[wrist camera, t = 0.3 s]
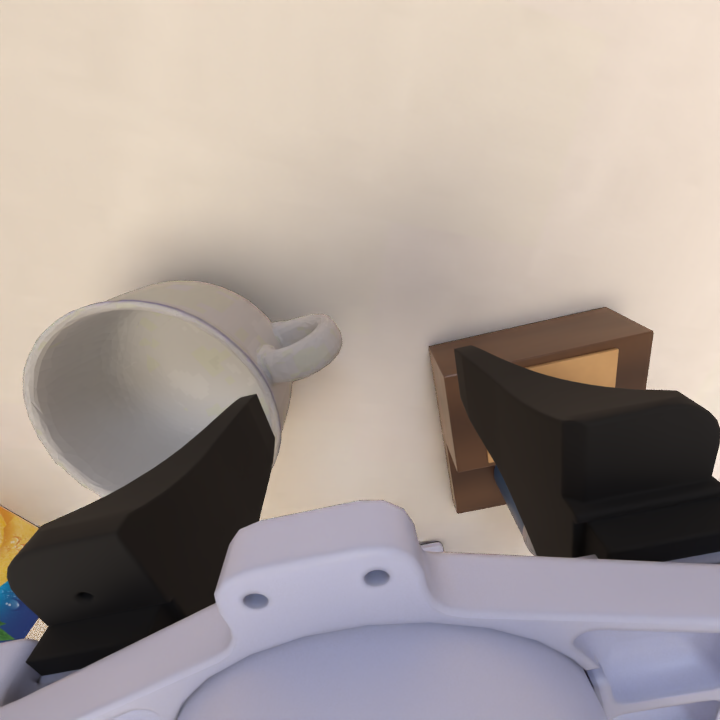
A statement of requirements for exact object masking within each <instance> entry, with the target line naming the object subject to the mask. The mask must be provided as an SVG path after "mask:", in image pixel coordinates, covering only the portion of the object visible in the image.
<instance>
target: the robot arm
mask: <svg viewBox="0 0 720 720" xmlns="http://www.w3.org/2000/svg"><path fill="white" fill-rule="evenodd" d="M454 354H455V361H456V369H457V376H458V384H459V391H460V398H461V401H462V403H463V406H464V408H465V410H466V413H467V415H468V418H469V420H470V422H471V423H472V425H473V427H474V429H475V430H476V432H477V434H478V435H479V437H480V439H481V440H482V442H483V444H484V445H485V447H486V449H487V450H488V452H489V454H490V455H491V457H492V459H493V461H494V462H495V464H496V466H497V467H498V469H499V471H500V473H501V475H502V477H503V479H504V481H505V483H506V485H507V487H508V490H509V492H510V494H511V496H512V499H513V501H514V503H515V505H516V508H517V510H518V512H519V515H520V517H521V519H522V522H523V524H524V526H525V528H526V531H527V533H528V536H529V538H530V540H531V543H532V545H533V548H534V550H535V553H536V555H537V556H520V555H498V554H475V553H452V552H444V550H443V546H442V544H441V543H439V542H435V543H429V544H424V545H420V544H419V541H418V538H417V534H416V530H415V525H414V523H413V521H412V520H411V518H410V517H409V516H408V514H407V513H406V511H405V510H404V509H403V508H401V507H398V506H396V505H394V504H391V503H389V502H387V501H384V500H359V501H354V502H349V503H344V504H339V505H334V506H329V507H324V508H320V509H315V510H310V511H305V512H300V513H295V514H290V515H285V516H280V517H275V518H271V519H266V520H261V521H259V518H260V514H261V510H262V506H263V502H264V498H265V494H266V490H267V486H268V482H269V478H270V473H271V469H272V465H273V459H274V448H275V436H274V434H273V432H272V429H271V427H270V425H269V422H268V420H267V417H266V415H265V413H264V410H263V408H262V405H261V403H260V401H259V398H258V396H257V394H253V395H249V396H244V397H240V398H239V399H237V400H236V401H235V402H233V403H232V404H231V405H230V406H229V407H228V408H226V409H225V410H224V411H223V412H222V413H221V414H220V415H219V416H218V417H217V418H215V419H214V420H213V421H212V422H211V423H210V424H209V425H208V426H207V427H205V428H204V429H203V430H202V431H201V432H200V433H198V434H197V435H196V436H195V437H194V438H193V439H191V440H190V441H189V442H188V443H187V444H185V445H184V446H183V447H182V448H180V449H179V450H178V451H177V452H175V453H174V454H173V455H171V456H170V457H168V458H167V459H166V460H164V461H163V462H161V463H160V464H159V465H157V466H156V467H154V468H153V469H151V470H149V471H148V472H146V473H145V474H143V475H141V476H140V477H138V478H136V479H135V480H133V481H132V482H130V483H128V484H127V485H125V486H123V487H121V488H120V489H118V490H116V491H114V492H112V493H110V494H109V495H107V496H105V497H103V498H101V499H99V500H97V501H95V502H93V503H91V504H89V505H87V506H85V507H83V508H80V509H78V510H76V511H74V512H71V513H69V514H67V515H65V516H62V517H60V518H58V519H56V520H53V521H51V522H49V523H46V524H44V525H42V526H41V527H40V528H39V529H38V530H37V532H36V533H35V534H34V535H33V536H32V537H31V539H30V540H29V541H28V542H27V543H26V544H25V546H24V547H23V548H22V549H21V550H20V551H19V553H18V554H17V555H16V556H15V557H14V558H13V560H12V561H11V563H10V564H9V566H8V568H7V580H8V583H9V585H10V588H11V590H12V591H13V592H14V593H15V595H16V596H17V597H18V598H19V599H20V600H21V601H22V602H23V603H24V604H25V605H26V606H27V607H28V608H29V609H30V610H32V611H33V612H34V613H35V614H36V615H37V616H38V617H39V618H40V619H41V620H42V621H43V622H44V623H45V624H46V625H47V626H49V627H48V628H47V630H46V631H45V633H44V634H43V636H42V637H41V639H40V641H37V640H33V639H19V640H13V641H8V642H3V643H0V720H720V482H719V481H717V480H716V479H715V478H714V477H712V472H713V468H714V464H715V460H716V456H717V452H718V448H719V444H720V427H719V424H718V421H717V419H716V418H715V417H714V416H713V415H712V414H711V413H710V412H709V411H708V410H706V409H705V408H703V407H701V406H700V405H698V404H697V403H695V402H694V401H692V400H691V399H689V398H688V397H686V396H684V395H683V394H681V393H680V392H678V391H671V390H638V389H624V388H614V387H605V386H597V385H590V384H585V383H579V382H573V381H569V380H564V379H560V378H556V377H552V376H548V375H545V374H541V373H538V372H535V371H532V370H529V369H526V368H524V367H521V366H518V365H516V364H513V363H511V362H508V361H506V360H504V359H502V358H499V357H497V356H495V355H493V354H491V353H488V352H486V351H484V350H482V349H480V348H478V347H475V346H473V345H469V346H465V347H460V348H456V349H454Z"/></svg>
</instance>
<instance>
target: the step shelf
mask: <svg viewBox="0 0 720 720" xmlns="http://www.w3.org/2000/svg"><path fill="white" fill-rule="evenodd" d="M652 340H653V331H652V330H650V329H648V328H646V327H644V326H642V325H640V324H638V323H636V322H634V321H632V320H630V319H628V318H626V317H624V316H622V315H621V314H619V313H617V312H615V311H613V310H611V309H609V308H607V307H603V308H599V309H594V310H590V311H585V312H581V313H576V314H572V315H567V316H563V317H558V318H554V319H549V320H545V321H540V322H536V323H531V324H527V325H523V326H518V327H514V328H509V329H505V330H500V331H496V332H491V333H487V334H482V335H478V336H473V337H469V338H464V339H460V340H455V341H451V342H446V343H442V344H437V345H433V346H429V352H430V359H431V365H432V371H433V378H434V384H435V390H436V396H437V403H438V409H439V415H440V422H441V428H442V433H443V441H444V447H445V453H446V459H447V466H448V472H449V478H450V485H451V491H452V497H453V503H454V506H455V509H456V512H457V513H458V514H459V513H464V512H469V511H474V510H479V509H485V508H490V507H495V506H500V505H505V504H506V502H505V500H504V498H503V496H502V494H501V492H500V490H499V488H498V486H497V484H496V481H495V479H494V469H495V466H496V464H495V462H494V461H493V459H492V457H491V455H490V454H489V452H488V450H487V449H486V447H485V445H484V444H483V442H482V440H481V439H480V437H479V435H478V434H477V432H476V430H475V429H474V427H473V425H472V423H471V422H470V420H469V418H468V415H467V413H466V410H465V408H464V406H463V403H462V401H461V398H460V391H459V384H458V376H457V369H456V361H455V354H454V349H456V348H460V347H465V346H469V345H473V346H475V347H478V348H480V349H482V350H484V351H486V352H488V353H491V354H493V355H495V356H497V357H499V358H502V359H504V360H506V361H508V362H511V363H513V364H516V365H518V366H521V367H524V368H526V369H529V370H532V371H535V372H538V373H541V374H545V375H548V376H552V377H556V378H560V379H564V380H569V381H573V382H579V383H585V384H590V385H597V386H605V387H614V388H624V389H638V390H646V383H647V376H648V369H649V362H650V354H651V347H652Z"/></svg>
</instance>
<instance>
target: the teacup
mask: <svg viewBox="0 0 720 720" xmlns="http://www.w3.org/2000/svg"><path fill="white" fill-rule="evenodd" d="M341 347H342V335H341V332H340V330H339V328H338V327H337V325H336V323H335V322H334V321H333V320H332V318H331V317H329V316H327V315H324V314H312V315H306V316H302V317H298V318H294V319H290V320H287V321H277V322H271V321H270V320H269V318H268V317H267V316H266V315H265V314H264V313H263V312H262V311H261V310H259V309H258V308H257V307H256V306H255V305H253V304H252V303H251V302H250V301H248V300H247V299H245V298H244V297H242V296H240V295H239V294H237V293H235V292H233V291H231V290H228V289H225V288H223V287H220V286H217V285H214V284H209V283H205V282H199V281H186V280H184V281H169V282H162V283H157V284H152V285H149V286H146V287H142V288H139V289H136V290H133V291H130V292H127V293H124V294H122V295H119V296H117V297H114V298H112V299H109V300H107V301H104V302H98V303H94V304H91V305H88V306H85V307H82V308H79V309H77V310H74V311H71V312H69V313H68V314H66V315H64V316H63V317H61V318H59V319H58V320H57V321H55V322H54V323H53V324H52V325H51V326H49V327H48V328H47V329H46V330H45V331H44V332H43V333H42V334H41V336H40V337H39V338H38V339H37V340H36V342H35V344H34V346H33V348H32V350H31V352H30V354H29V356H28V359H27V362H26V364H25V367H24V375H23V396H24V401H25V405H26V409H27V413H28V417H29V419H30V421H31V423H32V425H33V428H34V430H35V432H36V434H37V436H38V438H39V440H40V441H41V442H42V444H43V445H44V447H45V448H46V450H47V452H48V453H49V455H50V456H51V458H52V459H53V460H54V462H55V463H56V464H57V465H59V466H61V467H62V468H63V469H64V470H65V471H66V472H67V473H68V474H69V475H71V476H72V477H73V478H74V479H75V480H76V481H78V482H79V483H80V484H81V485H82V486H84V487H86V488H87V489H89V490H91V491H93V492H94V493H96V494H97V495H99V496H100V497H102V498H103V497H105V496H107V495H109V494H110V493H112V492H114V491H116V490H118V489H120V488H121V487H123V486H125V485H127V484H128V483H130V482H132V481H133V480H135V479H136V478H138V477H140V476H141V475H143V474H145V473H146V472H148V471H149V470H151V469H153V468H154V467H156V466H157V465H159V464H160V463H161V462H163V461H164V460H166V459H167V458H168V457H170V456H171V455H173V454H174V453H175V452H177V451H178V450H179V449H180V448H182V447H183V446H184V445H185V444H187V443H188V442H189V441H190V440H191V439H193V438H194V437H195V436H196V435H197V434H198V433H200V432H201V431H202V430H203V429H204V428H205V427H207V426H208V425H209V424H210V423H211V422H212V421H213V420H214V419H215V418H217V417H218V416H219V415H220V414H221V413H222V412H223V411H224V410H225V409H226V408H228V407H229V406H230V405H231V404H232V403H233V402H235V401H236V400H237V399H239V398H240V397H244V396H249V395H253V394H257V396H258V398H259V401H260V403H261V405H262V408H263V410H264V413H265V415H266V417H267V420H268V422H269V425H270V427H271V429H272V432H273V434H274V436H275V448H274V459H273V465H272V468H273V466H274V464H275V461H276V459H277V456H278V453H279V449H280V444H281V433H282V430H283V426H284V423H285V419H286V415H287V412H288V408H289V403H290V398H291V391H292V381H296V380H300V379H303V378H305V377H308V376H310V375H312V374H314V373H316V372H318V371H319V370H321V369H322V368H324V367H325V366H327V365H328V364H329V363H330V362H331V361H332V360H333V359H334V358H335V357H336V356H337V355H338V354H339V351H340V349H341Z"/></svg>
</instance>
